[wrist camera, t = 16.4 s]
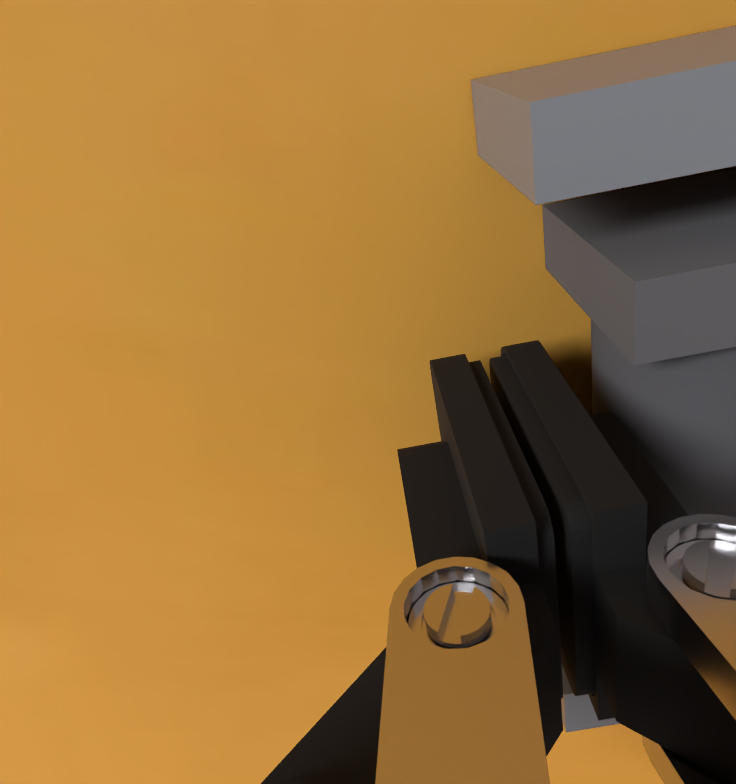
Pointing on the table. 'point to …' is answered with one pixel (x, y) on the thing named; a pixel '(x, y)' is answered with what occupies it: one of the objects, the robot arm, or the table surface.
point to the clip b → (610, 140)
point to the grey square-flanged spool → (661, 322)
